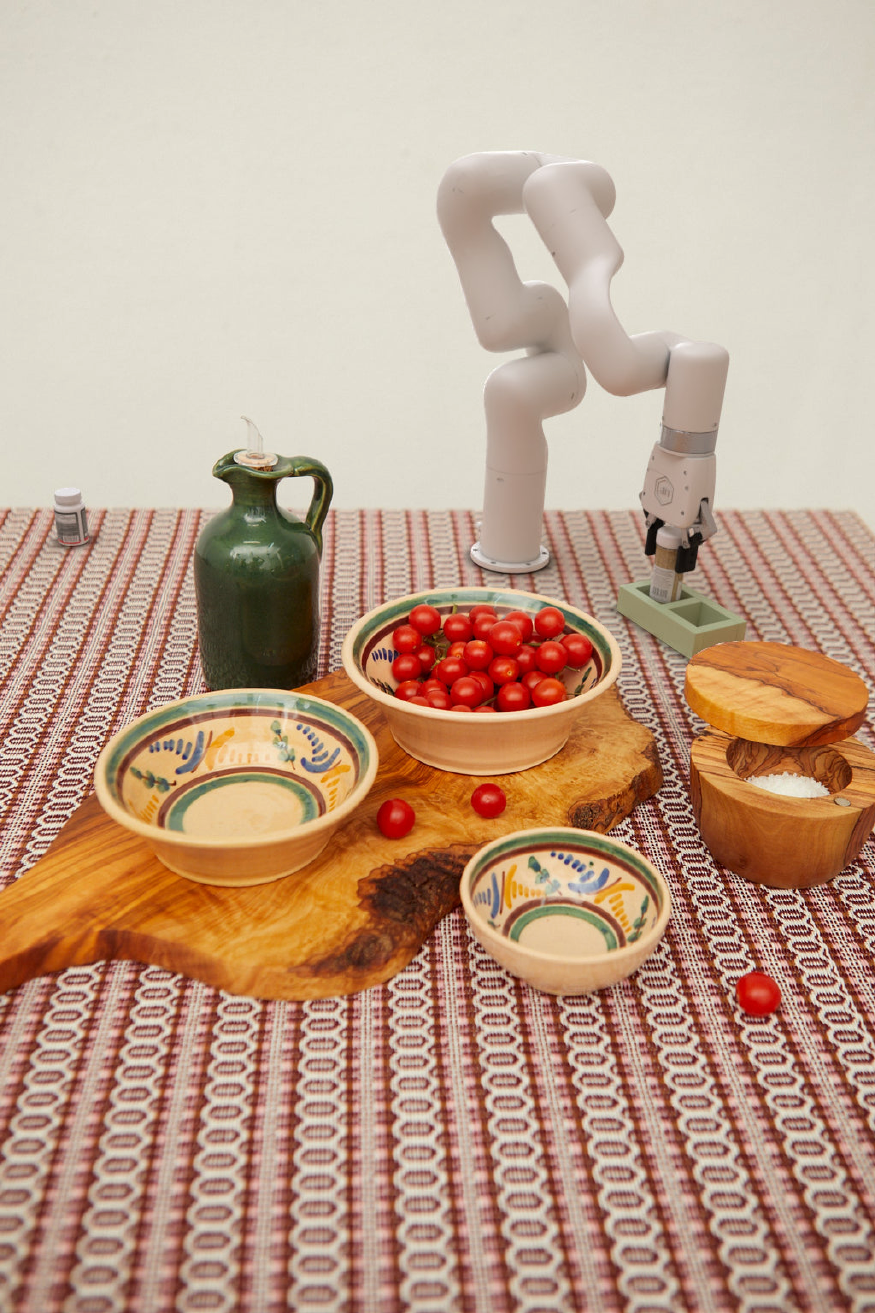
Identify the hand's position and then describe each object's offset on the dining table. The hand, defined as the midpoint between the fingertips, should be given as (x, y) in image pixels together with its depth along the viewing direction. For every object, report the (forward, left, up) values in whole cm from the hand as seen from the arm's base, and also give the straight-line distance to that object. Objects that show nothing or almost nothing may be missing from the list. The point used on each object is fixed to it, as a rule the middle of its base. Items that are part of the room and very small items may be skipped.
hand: (669, 561), depth 154 cm
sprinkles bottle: (0, 0, -9) cm, 9 cm away
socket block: (+4, 0, -9) cm, 10 cm away
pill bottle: (-61, -70, -9) cm, 93 cm away
